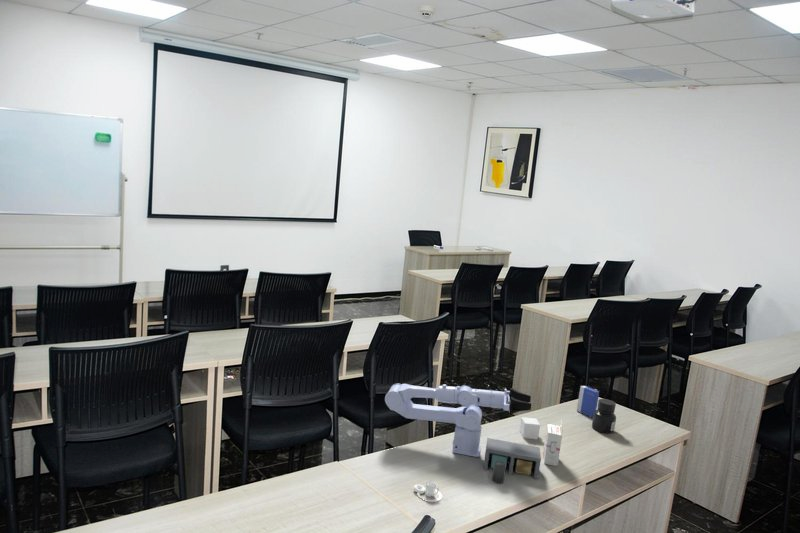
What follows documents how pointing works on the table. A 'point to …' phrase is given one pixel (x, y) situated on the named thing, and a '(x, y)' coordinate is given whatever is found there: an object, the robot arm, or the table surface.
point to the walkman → (587, 400)
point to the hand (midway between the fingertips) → (530, 402)
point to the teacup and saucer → (428, 490)
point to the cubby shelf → (513, 453)
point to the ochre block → (523, 466)
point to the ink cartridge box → (552, 444)
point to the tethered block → (498, 467)
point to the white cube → (529, 428)
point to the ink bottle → (604, 416)
